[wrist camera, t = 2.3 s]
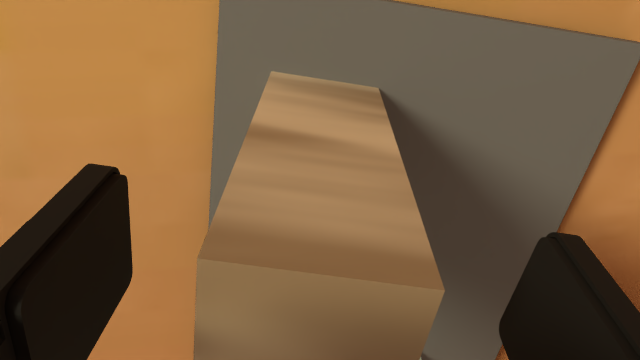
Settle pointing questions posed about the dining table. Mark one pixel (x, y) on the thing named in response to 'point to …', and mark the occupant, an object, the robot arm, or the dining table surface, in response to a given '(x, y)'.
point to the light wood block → (316, 236)
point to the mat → (443, 126)
